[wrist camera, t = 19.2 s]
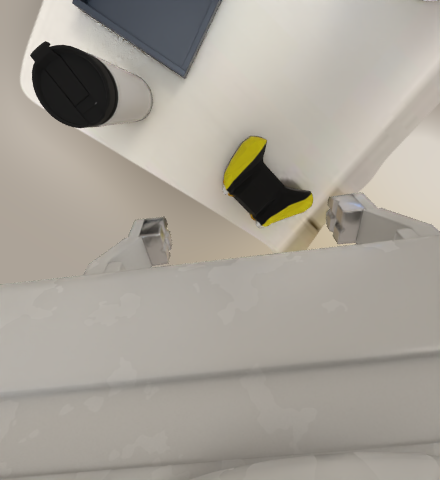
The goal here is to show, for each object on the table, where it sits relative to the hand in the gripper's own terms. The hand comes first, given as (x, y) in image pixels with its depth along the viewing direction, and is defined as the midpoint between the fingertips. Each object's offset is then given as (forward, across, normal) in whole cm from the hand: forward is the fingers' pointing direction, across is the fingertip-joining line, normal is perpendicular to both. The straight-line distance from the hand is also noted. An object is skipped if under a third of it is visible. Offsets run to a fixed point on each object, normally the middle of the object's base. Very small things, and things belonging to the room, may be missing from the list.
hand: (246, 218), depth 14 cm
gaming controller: (+31, -5, +14) cm, 35 cm away
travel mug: (+34, +13, -1) cm, 37 cm away
